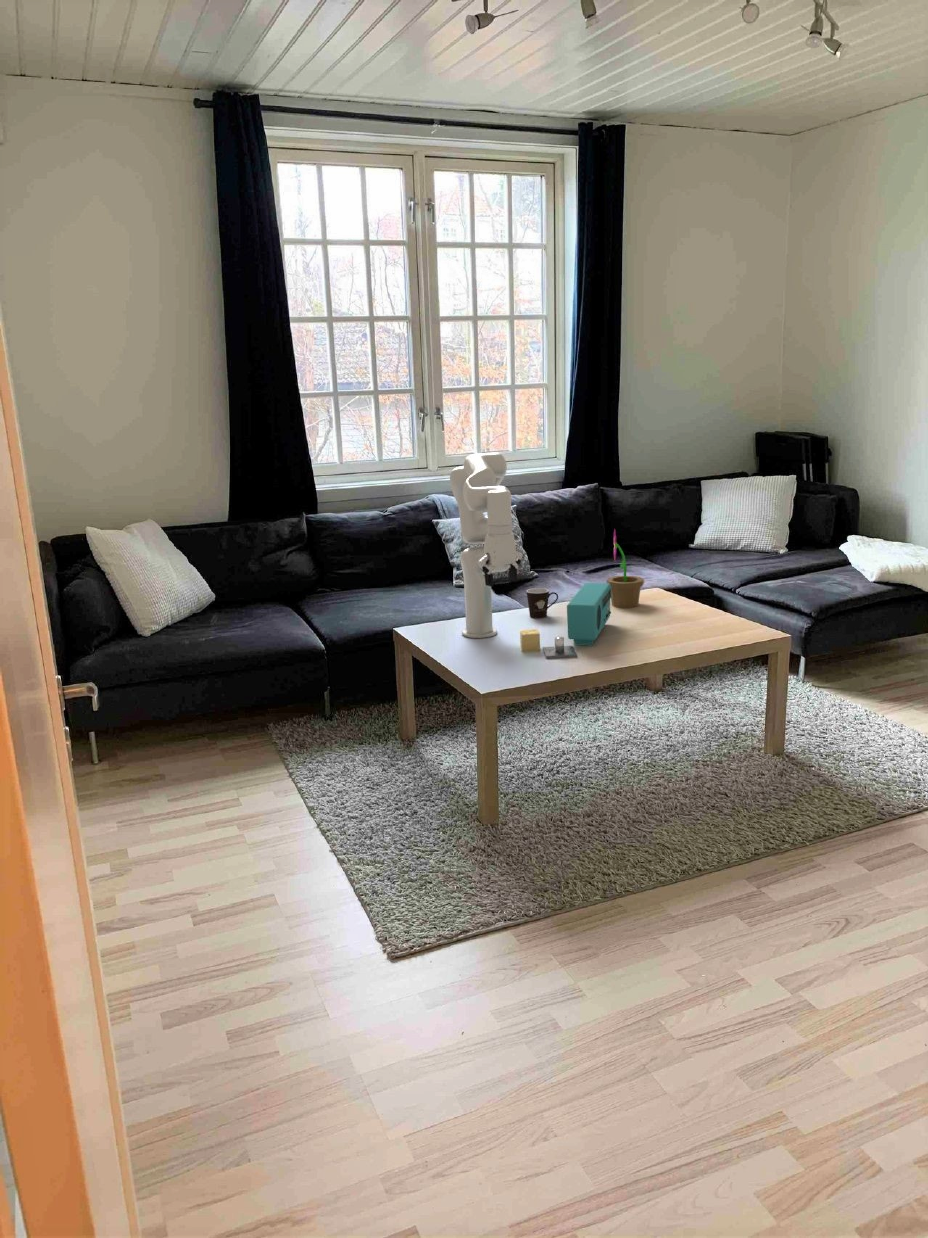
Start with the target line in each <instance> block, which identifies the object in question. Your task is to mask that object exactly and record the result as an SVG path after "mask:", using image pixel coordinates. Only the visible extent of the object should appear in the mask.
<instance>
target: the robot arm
mask: <svg viewBox="0 0 928 1238" xmlns="http://www.w3.org/2000/svg"><path fill="white" fill-rule="evenodd" d="M506 474H507V461H506V459H505V457H504V455H503V454H501V453H500V452H485V453H483V452H482V453H473V454H470V455H468V456H467V457H465V459H464V460H463V464H462V466H458V467H455V468H454V469H452V470H451V471H450V474H449V484H450V488H451V492H452V494H453V497H454V500H455V502H456V504H457V506H458V507H457V508H458V512H459V513H458V514H459V522H460V530H461V537H462V540H463V542H465V543H466V544H473V545H475V544H483V546H472V547H468V548H466V549H464V550H463V551H462V552H461V554H460V565H461V569H462V571H461V572H462V575H463V584H464V585H463V586H464V587H463V589H464V604H465V605H464V606H465V607H464V610H465V628H464V629H462V630H461V633H462V636H463V637H466V638H470V639H471V638H472V639H484V638H489V637H490V638H491V637H493V636H495V635H497V633H498V629H497V628H495V627H494V626H493V607H492V605H493V604H492V587H493V586H494V575H493V574H494V573H501V572H506V571H508V579H509V581H512V582H517V581H518V569H519V566H520V564H521V562H522V559H523V553H522V552H521V551H518V550H517V547H516V540H515V536H514V532H513V530H512V529H513V528H514V527H515V525H514V524H513V523H512V522H513V521H512V493H511V491H510V490H509V488H508V487H506V486H504V485H501V483H502V481H503V480H504V479H505V475H506ZM484 512H486V514H487V515H485V514H484Z"/></svg>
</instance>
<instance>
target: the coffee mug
mask: <svg viewBox="0 0 928 1238" xmlns="http://www.w3.org/2000/svg"><path fill="white" fill-rule="evenodd" d="M525 592H526V598H527V605H528V612H529V617H530V618H532V619H544V618H546V617H548V610H549V608H551V607H552V606H553V605H555V604H556V602H557V601H558V599H559V595H558V593H557V592H555V591H553V592H550V589H548V588H543V587H534V588H529V589H527V590H526V591H525ZM551 595H555V596H556V598H555V600H554V601H553V602H552V603H550V604H549V598H550V596H551Z"/></svg>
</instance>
